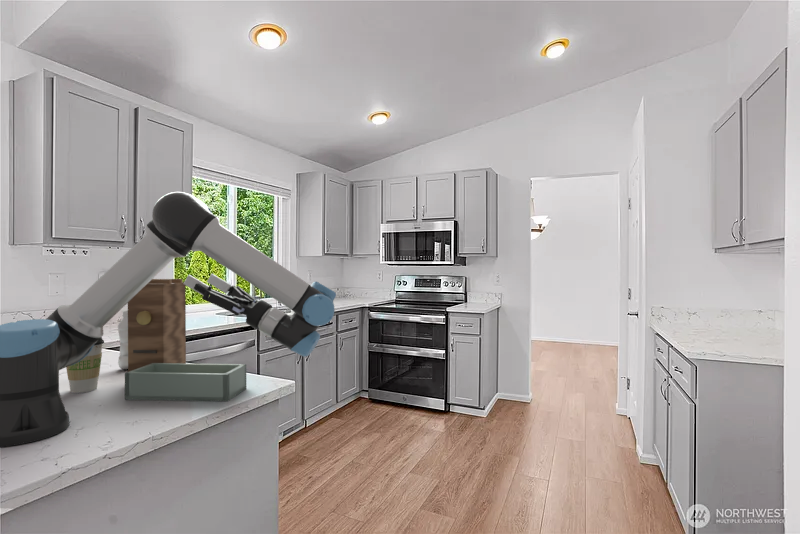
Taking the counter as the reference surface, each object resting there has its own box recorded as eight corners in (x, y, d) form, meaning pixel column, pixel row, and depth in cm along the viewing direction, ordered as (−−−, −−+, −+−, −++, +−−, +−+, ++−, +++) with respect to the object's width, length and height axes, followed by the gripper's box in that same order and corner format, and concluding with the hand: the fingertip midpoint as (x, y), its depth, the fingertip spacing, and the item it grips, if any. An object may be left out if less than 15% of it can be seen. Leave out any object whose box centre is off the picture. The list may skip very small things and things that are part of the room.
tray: (227, 401, 116) (227, 374, 116) (124, 399, 118) (124, 373, 118) (246, 388, 128) (246, 364, 128) (153, 386, 130) (152, 363, 130)
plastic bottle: (133, 371, 149) (133, 311, 149) (113, 371, 149) (113, 311, 149) (144, 366, 155) (144, 309, 155) (125, 366, 156) (125, 309, 155)
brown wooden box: (162, 386, 130) (162, 280, 130) (123, 385, 131) (123, 280, 131) (188, 374, 144) (187, 278, 144) (152, 374, 145) (152, 278, 145)
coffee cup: (82, 395, 121) (82, 340, 121) (53, 393, 123) (52, 339, 123) (112, 386, 131) (112, 335, 131) (84, 384, 133) (84, 334, 133)
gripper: (240, 337, 110) (166, 293, 111) (274, 324, 133) (213, 287, 135) (255, 311, 109) (181, 266, 110) (286, 302, 133) (225, 266, 134)
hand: (198, 278), depth 123 cm, fingers open, 11 cm apart
